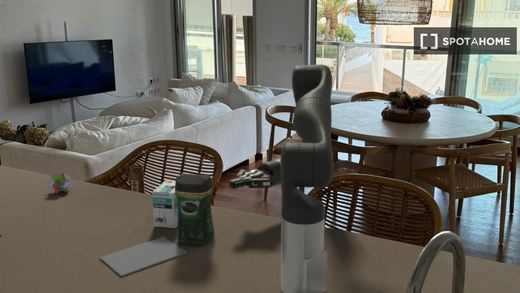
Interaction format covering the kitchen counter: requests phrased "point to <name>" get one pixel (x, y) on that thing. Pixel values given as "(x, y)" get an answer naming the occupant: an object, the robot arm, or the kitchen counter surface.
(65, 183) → the geometric puzzle
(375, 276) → the kitchen counter surface
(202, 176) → the coffee jar
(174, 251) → the grey flat rectangular panel
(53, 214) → the kitchen counter surface
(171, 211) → the light bulb box
